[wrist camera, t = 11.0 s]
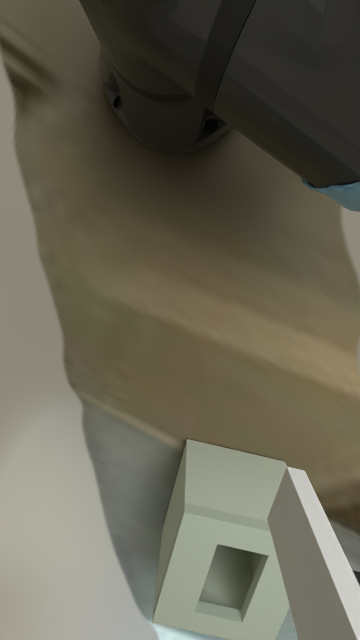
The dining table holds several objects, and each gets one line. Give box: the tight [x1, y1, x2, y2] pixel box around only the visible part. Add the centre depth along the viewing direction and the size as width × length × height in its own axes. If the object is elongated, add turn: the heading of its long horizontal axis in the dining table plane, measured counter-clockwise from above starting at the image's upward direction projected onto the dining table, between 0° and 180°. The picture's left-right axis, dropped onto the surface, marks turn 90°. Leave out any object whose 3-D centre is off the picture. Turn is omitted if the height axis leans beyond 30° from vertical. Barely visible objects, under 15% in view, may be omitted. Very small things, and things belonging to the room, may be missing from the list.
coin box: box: [152, 439, 290, 640], centre depth 39 cm, size 16×14×12 cm
